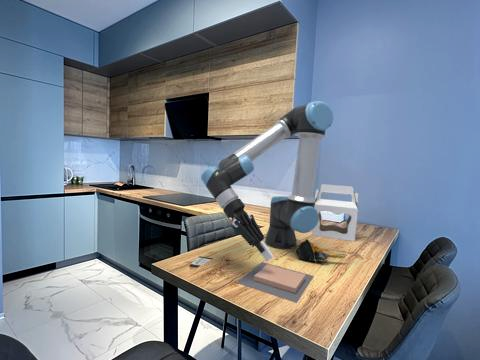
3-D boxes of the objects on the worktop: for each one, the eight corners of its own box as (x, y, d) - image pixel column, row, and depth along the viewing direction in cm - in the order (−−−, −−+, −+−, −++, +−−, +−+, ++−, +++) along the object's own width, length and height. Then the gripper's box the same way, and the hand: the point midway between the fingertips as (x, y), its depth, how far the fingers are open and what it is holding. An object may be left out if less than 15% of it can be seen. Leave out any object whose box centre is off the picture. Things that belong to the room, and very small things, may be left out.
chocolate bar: (236, 273, 89) (189, 265, 94) (236, 275, 89) (189, 267, 94) (243, 263, 98) (199, 256, 102) (242, 265, 98) (199, 258, 102)
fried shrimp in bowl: (292, 243, 111) (331, 231, 111) (300, 269, 108) (341, 257, 108) (295, 242, 102) (338, 229, 103) (305, 270, 99) (349, 257, 99)
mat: (261, 263, 100) (262, 261, 100) (313, 277, 90) (313, 275, 90) (235, 284, 82) (235, 282, 82) (296, 304, 72) (296, 302, 72)
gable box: (353, 234, 145) (358, 185, 142) (355, 241, 133) (360, 188, 130) (313, 229, 153) (316, 182, 150) (311, 235, 140) (315, 184, 138)
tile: (267, 264, 93) (305, 274, 87) (267, 268, 94) (305, 279, 87) (254, 275, 84) (295, 288, 77) (253, 280, 84) (295, 293, 77)
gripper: (233, 207, 100) (270, 258, 94) (214, 212, 89) (254, 271, 82) (246, 195, 97) (285, 247, 90) (227, 199, 86) (270, 259, 79)
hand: (270, 259), depth 86 cm, fingers closed
